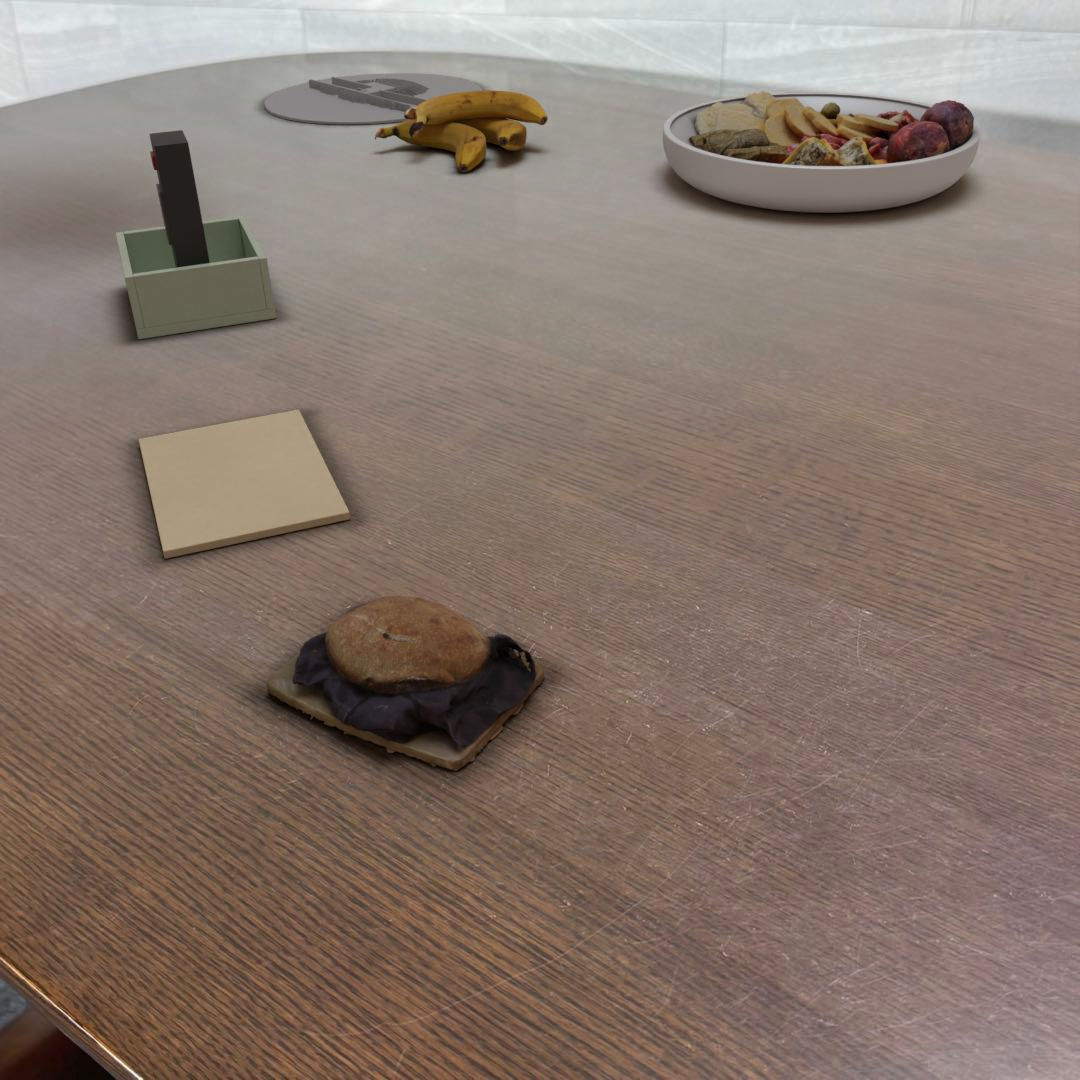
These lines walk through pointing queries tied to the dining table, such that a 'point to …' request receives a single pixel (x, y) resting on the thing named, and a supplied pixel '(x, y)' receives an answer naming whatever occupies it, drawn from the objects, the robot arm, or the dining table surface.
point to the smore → (410, 679)
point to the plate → (362, 97)
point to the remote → (179, 198)
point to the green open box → (196, 280)
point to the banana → (469, 123)
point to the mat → (238, 483)
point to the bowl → (821, 150)
